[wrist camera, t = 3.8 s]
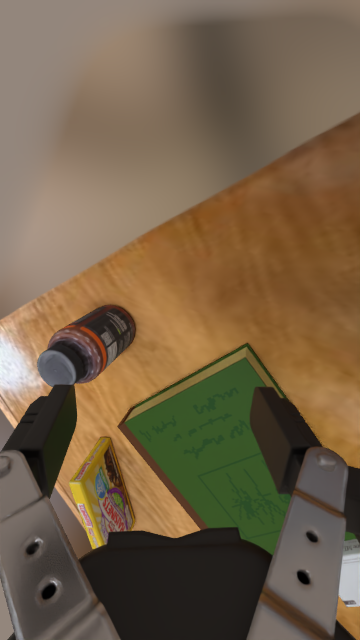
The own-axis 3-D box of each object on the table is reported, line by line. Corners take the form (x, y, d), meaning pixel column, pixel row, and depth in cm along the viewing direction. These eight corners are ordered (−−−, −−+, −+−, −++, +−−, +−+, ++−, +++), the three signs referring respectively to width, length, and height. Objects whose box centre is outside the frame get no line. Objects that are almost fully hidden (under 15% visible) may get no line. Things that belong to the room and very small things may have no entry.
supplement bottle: (86, 330, 37) (18, 373, 27) (104, 294, 35) (37, 326, 25) (124, 357, 37) (70, 411, 27) (145, 322, 35) (94, 366, 24)
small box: (371, 506, 34) (388, 551, 30) (401, 554, 35) (422, 605, 31) (308, 519, 38) (314, 561, 33) (337, 562, 39) (347, 610, 34)
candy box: (138, 520, 47) (113, 578, 39) (126, 519, 47) (100, 575, 40) (112, 436, 42) (79, 484, 35) (99, 436, 43) (64, 482, 35)
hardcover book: (130, 408, 40) (117, 426, 36) (247, 343, 32) (245, 357, 29) (234, 540, 42) (232, 568, 39) (366, 508, 35) (377, 540, 31)
